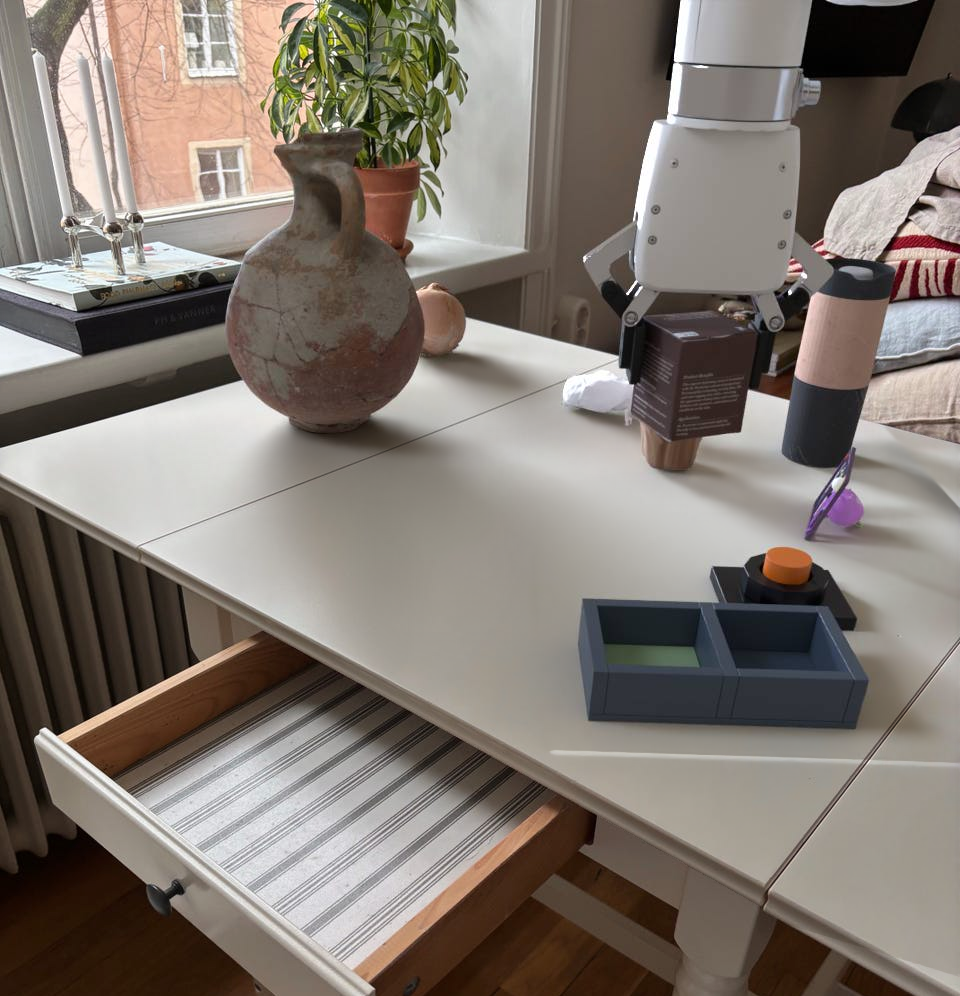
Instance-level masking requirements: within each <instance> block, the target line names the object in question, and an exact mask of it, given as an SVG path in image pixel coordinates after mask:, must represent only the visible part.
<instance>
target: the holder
mask: <svg viewBox="0 0 960 996" xmlns="http://www.w3.org/2000/svg"><path fill="white" fill-rule="evenodd" d="M577 650H578V656H579V657H578V658H579V664H580V671H581V678H582V686H583V694H584V700H585V708H586V709H585V710H586V715H587V721H588V722H609V723H640V724H641V723H642V724H643V723H644V724H669V725H670V724H672V725H674V724H677V725H707V726H736V727H737V726H739V727H765V728H766V727H770V728H772V727H773V728H802V729H832V730H833V729H837V730H856V727H857V724H858V721H859V717H860V714H861V712H862V711H861V710H862V707H863V704H864V701H865V696H866V694H867V690H868V687H869V684H870V679H869V677H868V675H867V673H866V671H865V670H864V668H863V666H862V665H861V662H860V661H859V660H858V658H857V655H856V654H855V652H854V650H853V649H852V647H851V645H850V643H849V641H848V640H847V638H846V636H845V633H843V630H841V629H840V627H839V625H838V623H837V622H836V620H835V618H834V616H833V615H832V613H831V611H830V609H829V607H828V606H804V605H773V604H742V603H719V602H711V601H710V602H708V601H681V600H680V601H678V600H651V599H650V600H648V599H647V600H645V599H617V598H615V599H614V598H586V597H582V599H581V609H580V618H579V630H578V638H577Z"/></svg>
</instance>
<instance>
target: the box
mask: <svg viewBox="0 0 960 996" xmlns="http://www.w3.org/2000/svg"><path fill="white" fill-rule="evenodd" d="M643 323H644V325H645V328H646V337H645V345H644V354H643V362H642V371H641V380H640V383H637V385H634V387H633V396H632V404H631V414H632V418H634V417H635V418H636V419H635V418H634V419H635V420H637V421H638V422H639V421H640V422H642V423H644V424H645V425H647V426H648V427H649V428H651V429H652V430H654V431H655V432H656V433H657V434H659V435H660V436H661V437H662V438H664V439H665V440H666V441H668V442H673V441H679V440H687V439H693V438H700V437H702V438H707V437H708V438H709V437H714V436H722V435H730V434H740V433H742V428H743V423H744V417H745V412H746V407H747V406H746V404H747V399H748V392H749V389H750V388H749V382H750V376H751V370H752V365H753V359H754V354H755V348H756V340H757V336H758V332H757V331H755V330H753V329H751V328H749V327H748V326H746V325H744V324H743V323H740V322H737V321H736V320H734V319H731V318H729V317H727V316H725V315H723V314H721V313H719V312H717V311H715V310H711V309H710V310H704V311H691V312H681V313H668V314H666V313H665V314H653V315H652V314H651V315H643ZM640 422H639V423H640Z"/></svg>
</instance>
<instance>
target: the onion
mask: <svg viewBox="0 0 960 996" xmlns="http://www.w3.org/2000/svg"><path fill="white" fill-rule="evenodd" d="M415 290H416V289H415ZM416 293H417V296H418V299H419V302H420V305H421V308H422V312H423V317H424V324H425V334H424V342H423V346H422V351H421V354H420V356H423V357H425V358H429V356H430V357H437V356H443V357H445V354H446V353H447V354H448V355H450V354H453V351H454V350H457V348H458V347H459V346H460V342H462V340H463V338H464V335H465V332H466V329H467V328H466V327H467V319H466V313H465V309H464V307H463V305H462V303H461V302H460V301H459V300H458V299H457V297H455V296H454V295H453V294H452V293H451V292H450V291H449V289H448V288H446V287H445V286H444V285H442V284H441V283H438V282H432V283H431V284H430V285H429V284H427V285H424V287H421V288H419V289H417V290H416Z"/></svg>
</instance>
